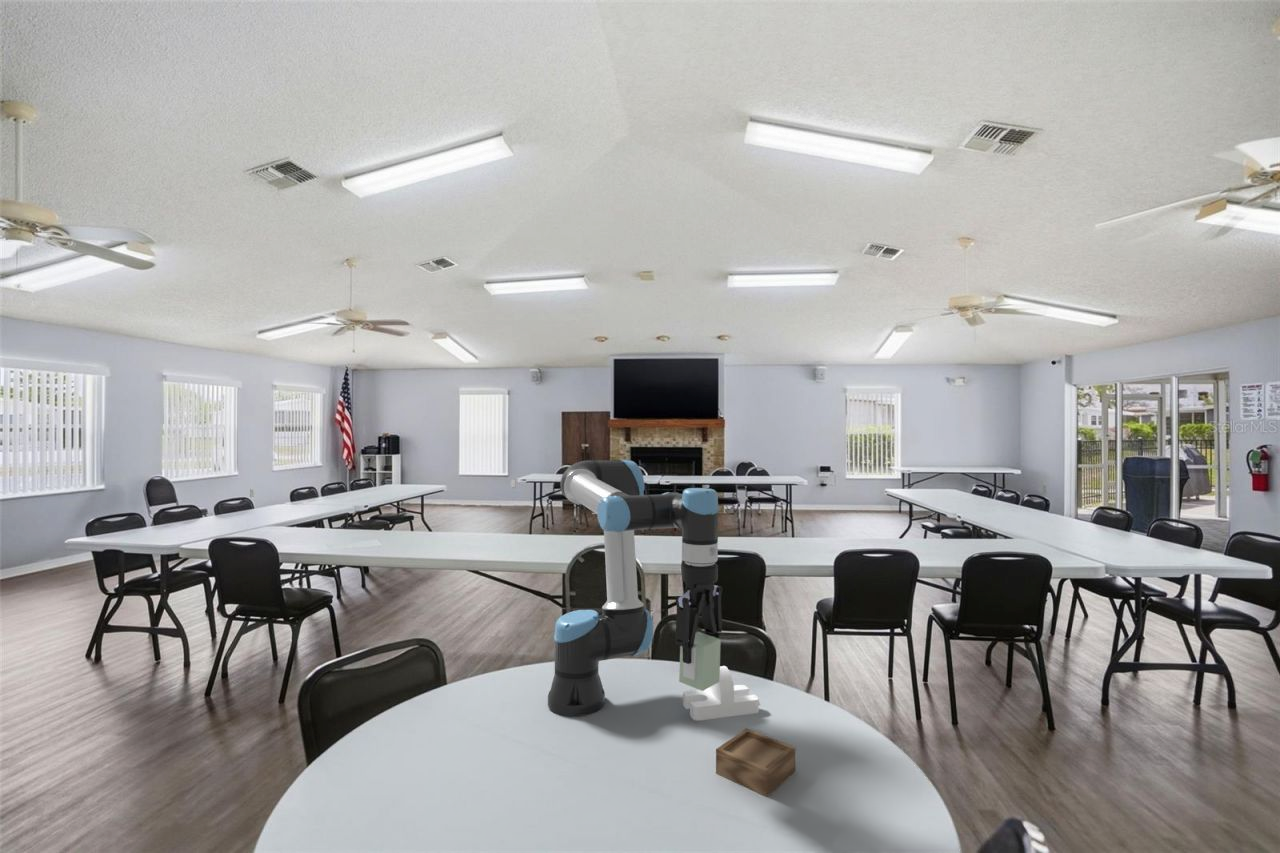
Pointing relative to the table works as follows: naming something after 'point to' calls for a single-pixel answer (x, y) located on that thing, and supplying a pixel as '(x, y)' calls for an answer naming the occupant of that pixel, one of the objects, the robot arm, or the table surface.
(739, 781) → the brown crate
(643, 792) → the table surface
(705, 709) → the white slotted block
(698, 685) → the green block
